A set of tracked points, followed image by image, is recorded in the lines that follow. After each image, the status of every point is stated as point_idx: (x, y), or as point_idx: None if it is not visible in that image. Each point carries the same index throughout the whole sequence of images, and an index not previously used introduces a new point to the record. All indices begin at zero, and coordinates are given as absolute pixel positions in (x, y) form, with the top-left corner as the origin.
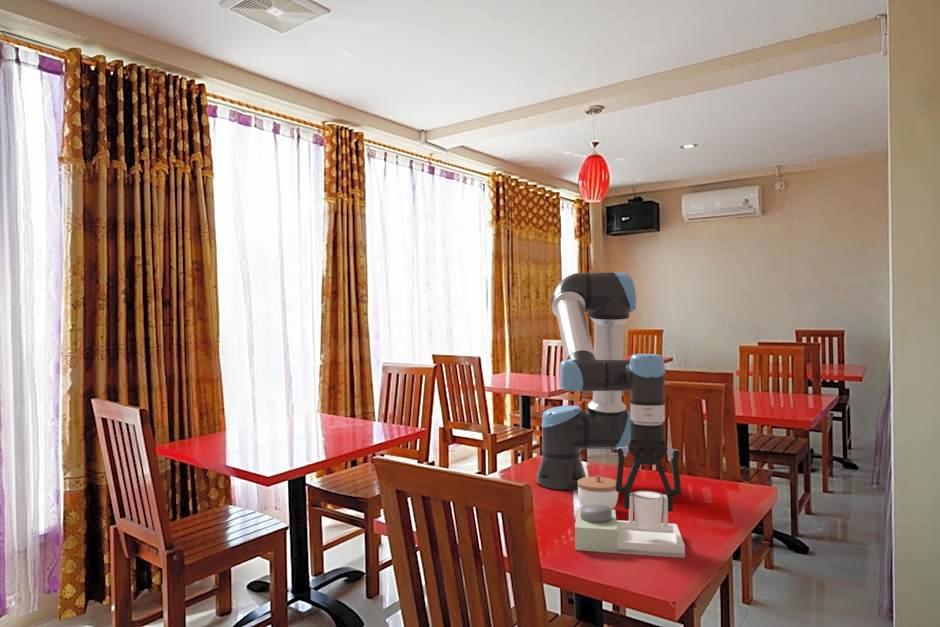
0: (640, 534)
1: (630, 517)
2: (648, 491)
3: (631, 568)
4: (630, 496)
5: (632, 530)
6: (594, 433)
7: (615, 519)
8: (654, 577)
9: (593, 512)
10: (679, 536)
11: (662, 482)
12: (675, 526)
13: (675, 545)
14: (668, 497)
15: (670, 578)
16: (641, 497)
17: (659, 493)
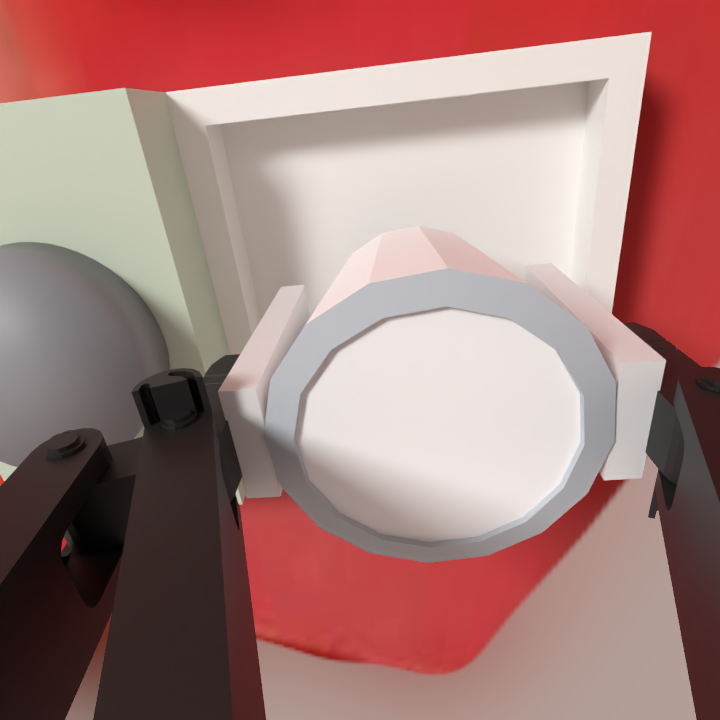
0: (363, 214)
1: None
2: (451, 307)
3: (342, 540)
4: (257, 494)
5: (308, 149)
6: None
7: (191, 341)
8: (422, 581)
9: (36, 445)
10: None
11: (686, 603)
12: (625, 106)
13: None
14: (650, 513)
15: (476, 578)
16: (368, 541)
17: (585, 352)
